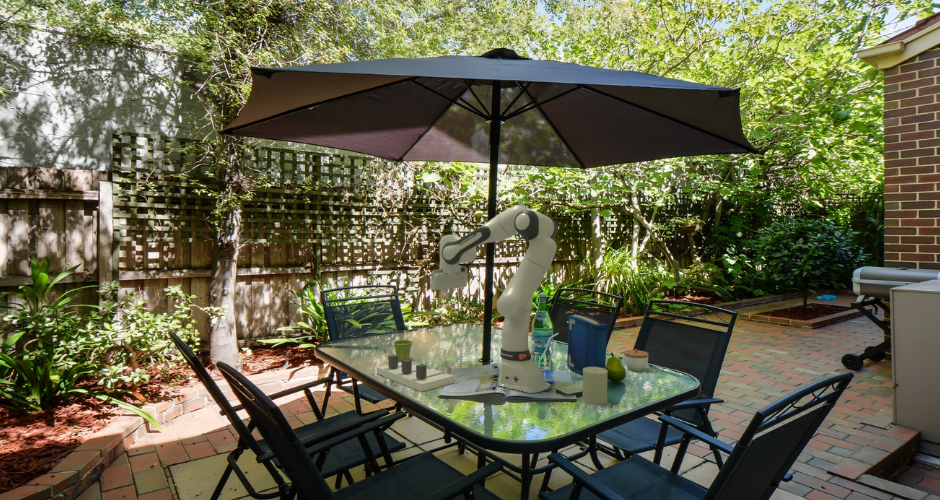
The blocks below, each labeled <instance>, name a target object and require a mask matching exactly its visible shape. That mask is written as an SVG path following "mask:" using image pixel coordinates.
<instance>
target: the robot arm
mask: <svg viewBox="0 0 940 500" xmlns="http://www.w3.org/2000/svg"><path fill="white" fill-rule="evenodd" d="M557 233H558V225H557V222H556V221H555V220H554V219H553V218H551V216H550V217H549V216H547V215H544V214H543V213H541V212H539V211H534V210H531V209H528V208H526V206H524V205H523V204H516V205H513V206H511V207H509V208H506V209H504V210H503V211H501V212H500V213H499V214H497V215H496V216H494V217H493V218H491V219H489V220H488V221H487V222H486V223H484V224H483V225H482V226H481V225H480V227H478V228H476V229H475V230H473V231H471V232H469V233H468V234H466V235H465V236H463V237H459V236H458V234H455V233H449V234H445V235H443V236H442V237H441V238H440V241H439V256H440V259H439V269H434V270H433V271H432V272H431V273H430V275H431V276H430V285H429V288H430V289H431V291H432V290H433V291H440V290H443V291H442V292H443V293H444V298H445V299H448V300H449V299H452V298H453V294H454V292H455V289H459V288H466V287H467V285H468V274H467V271H468V268H467V267H465V266H462V265H460V264H465V263H466V264H467V263H471V262H473V261H474V260H475V259H476V257H477V254H478V251H477V247H478V246H479V245H482V244H483V245H484V244H487V243H496V242H502V241H505V240H507V239H510V238H511V237H513V236H515V235H516V234H519V235H520V236H521V238H522V239H523V240H524V241H528V242H529V245H528V248H527V251H526V252H525V254H524V256H523V258H522V260H521V262H520V264H519V266H518V267H517V269H516V272H515V273H514V275H513V276H512V277H511V279H510V280H509V282H508V283H507V285H506V286H505V288H504V290H503V291H502V293H501V295H500V296H499V298H498V299H497V301H496V309H497V311H498V313H499V314H500V315H501V316H502V317H504V320H503V324H502V328H501V347H500V352H499V354H500V357H501V359H500V366H499V373H498V374H499V375H498V378H497V380H498V381H499V382H497V385H498V384H500V385H502V384H504V385H503V386H505V387H506V388H505V389H509V390H512V389H515V390H514V391H517V390H520V391H519V392H521V391H523V392H522V393H526V392H527V393H526V394H534V393H539V392H543V391H546V390H548V389H550V388H551V384H550V383H549V382H546V379H545V373H544V371H543V369H541V367H540V366H538V364H537V363H536V362H535V361H534V360H533V359H532V356H534V352H531V351H530V348H529V331H530V330H529V329H530V323H531V315H532V307H533V301H534V298H533V296H534V294H535V293H536V291H537V290H538V288H539V286H541V283H542V282H543V280H544V278H545V276H546V274H547V272H548V270H549V269H550V266H551V264H552V263H553V260H554V257H555V254H556V252H557V248H558V247H557V243H556V242H555V240H554V238H555V237H556V236H557Z"/></svg>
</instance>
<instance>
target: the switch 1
mask: <svg viewBox="0 0 940 500" xmlns="http://www.w3.org/2000/svg"><path fill="white" fill-rule="evenodd" d="M387 359H388V362H387V363H388V364H387V365H388V367H389V368H392V369H393V368H398V363H399V361H398V356H396V354H391V355H388V358H387Z"/></svg>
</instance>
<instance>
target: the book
mask: <svg viewBox="0 0 940 500" xmlns="http://www.w3.org/2000/svg"><path fill="white" fill-rule="evenodd" d="M567 322H568V324H567V325H568V328H567V329H568V330H567V353H566V354H567V359H566V366H567V368H569V369H571V370H572V371H574V373H577V374H579V375H582V376H583V368H586V367H600V368H604V369H606V360H607V340H608V339H607V335H608V334H607V333H608V325H607V323H605V322H601V321H600V320H599V319H597V318H594V317H591V316H590V315H589V316H588V315H584V314H569V315H568V321H567Z"/></svg>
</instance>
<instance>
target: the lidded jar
mask: <svg viewBox="0 0 940 500" xmlns="http://www.w3.org/2000/svg"><path fill="white" fill-rule="evenodd" d="M623 359H624V360H623V361H624V364H625V366H626V367H627V368H628V370H629V371H632V372H633V371H634V372H642V371H643V370H644V369H646V368H647V366H648V362H649V353H648V352H647V351H644V350H638V348H635V349H627V350H624V351H623Z"/></svg>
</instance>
